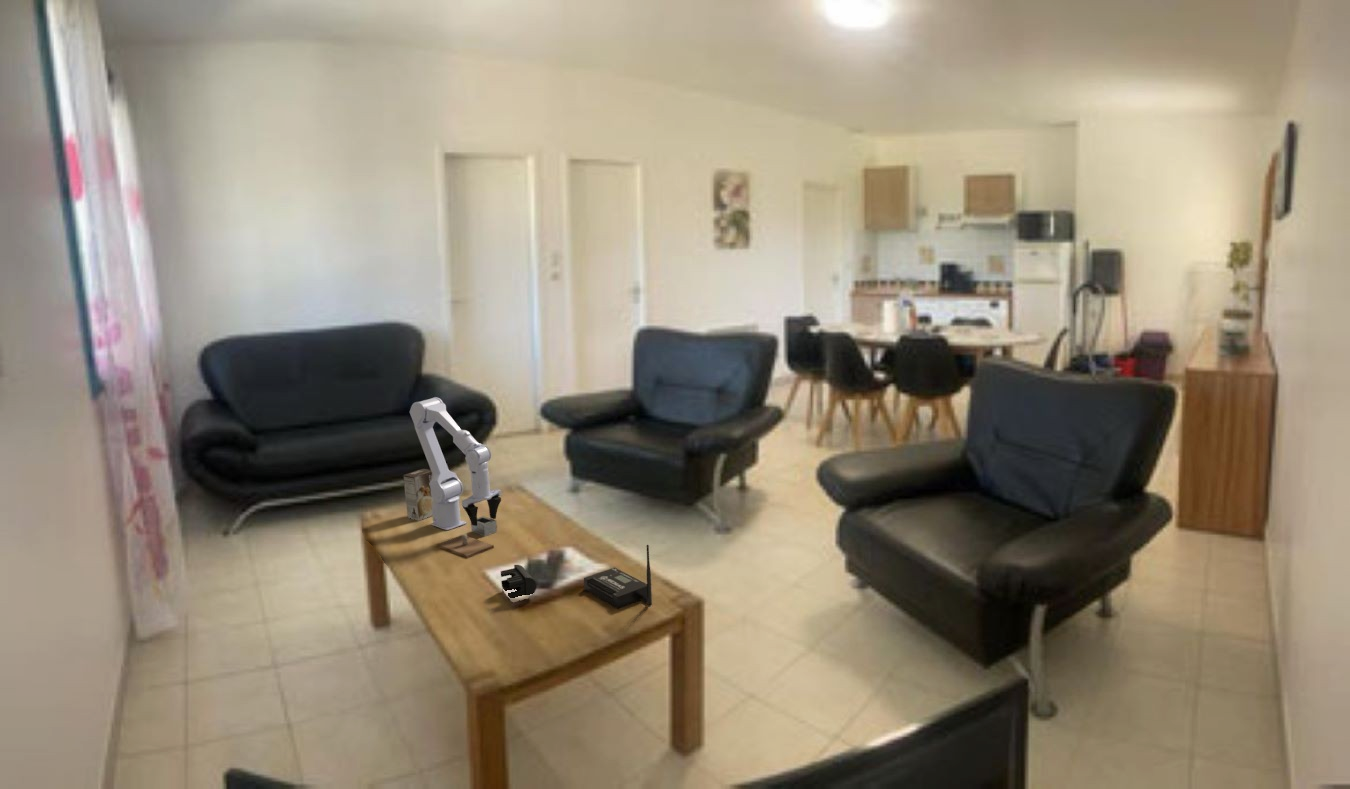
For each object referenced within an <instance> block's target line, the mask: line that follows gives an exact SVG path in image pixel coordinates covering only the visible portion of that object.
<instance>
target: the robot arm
mask: <svg viewBox="0 0 1350 789" xmlns="http://www.w3.org/2000/svg"><path fill="white" fill-rule="evenodd" d="M409 414H410V417H411V419H412V422H413V425H414V430H415V432H416V435H417V437H418V441H419V443H420V445H421V449H422V450H423V453H424V455H425V458H426V461H427V464H428V466H429V470H431V471H432V474H433V478H432V480H431V481H430V483H429V485H430V488H431V496H432V498H433V500H434V502H433V504H432V513H433V516H432V522H431V524H430V525H432V526H433V527H437V528H439V529H442V530H444V531H450V530H452V529H453V530H454V529H455V528H458V527H460V526H463V525H466V524H467V522H466V521H464V520H461V510H460V498H461V495H462V494H463V491H464V485H463V482H462V481H461V480H460V479H459V477H458V476H457V473H456V472H453V471H451V470H449V466H448V463H446V459H445V456H444V454H443V452H442V449H441V446H440V444H439V441H438V438H437V436H436V433H435V431H434V428H433V427H434V425H435V423H438V424H439V425H440V426H441V427H442V428H443V429H444V430H445V431H447V433H448V434H450V435H451V436H452V439H453V440H452V442H453V444H455V446H456V447H457V448H458V449H459V450H460V451H461V452H462V453H463V454H464V455H465V457H464V458H465V459H464V460H465V462H466V464H467V466H468V470H469V471H470V479H471V491H472V495H470V496H469V497H467V498H465V499H462V500H461V506H462V507H463V508H462V509H464V511H465V513H466V514H467V515H468V516H467V517H468V518H469V521H470V525H471V524H472V525H474V526H477V518H478V510H479V506H476V505H475V504H477V503H481V502H484V501H487V502H486V503H487V505H488V511H489V513H488V514H489V518H490V519H493V520H496V518H497V512H498V510H499V506H500V503H501V501H502V497H501V496H502V490H501V489H497V488H496V489H492V490H491V485H490V484H491V483H490V473H489V461H490V460H491V458H492V453H491V450H490V448H489V447H488V446H487V445H486V444H482V443H481V442H480V443H479V441H477V440H476V439H475V438H474V436H473V435H472V434H471V433H470V431H468V430H466V429H461V428H460V426H459V425H458V423H457V422H456V421H455V420H454V419H453V417H452V416H451V415H450V414H449V413H448V411H447V405H446V404H445V403H444V402H443V400H442V399H441V398H439V397H436V396H434V397H432V398H429V399H424V400H421V401H416V402H415V401H414V402H413V403H412V405H411V406H410V410H409Z"/></svg>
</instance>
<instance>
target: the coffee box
mask: <svg viewBox="0 0 1350 789" xmlns="http://www.w3.org/2000/svg"><path fill="white" fill-rule="evenodd" d="M402 478H403V486H404V495H405V505H406V513H407V518H408V519H410V518H411V520H414V519H415V520H414V521H417V522H420V521H422V519H423V520H425V519H427V517H428V518H430V517H433V513H432V504H433V502H434V500H433V498H432V496H431V488H430V485H429V483H430V481H431V480H432V478H433V474H432V471H431V469H429V468H421V469H418V470H414V471H412V472H409V473H406V474H403V475H402Z"/></svg>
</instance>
